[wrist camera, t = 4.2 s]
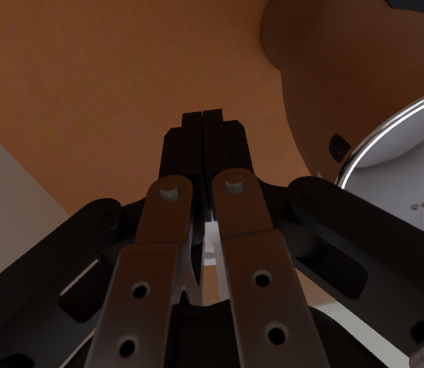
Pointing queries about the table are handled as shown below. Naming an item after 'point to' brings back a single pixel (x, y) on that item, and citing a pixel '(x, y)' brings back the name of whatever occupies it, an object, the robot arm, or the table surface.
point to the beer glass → (355, 94)
